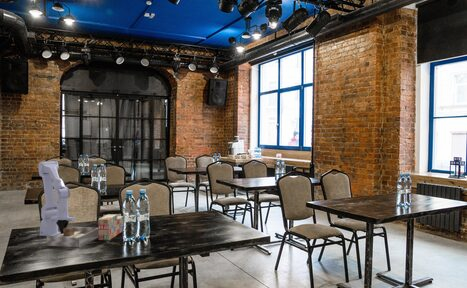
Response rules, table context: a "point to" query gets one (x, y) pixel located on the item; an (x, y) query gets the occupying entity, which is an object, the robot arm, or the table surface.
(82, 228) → the board
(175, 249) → the table surface
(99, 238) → the stack of blocks
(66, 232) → the walnut block
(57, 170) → the robot arm
